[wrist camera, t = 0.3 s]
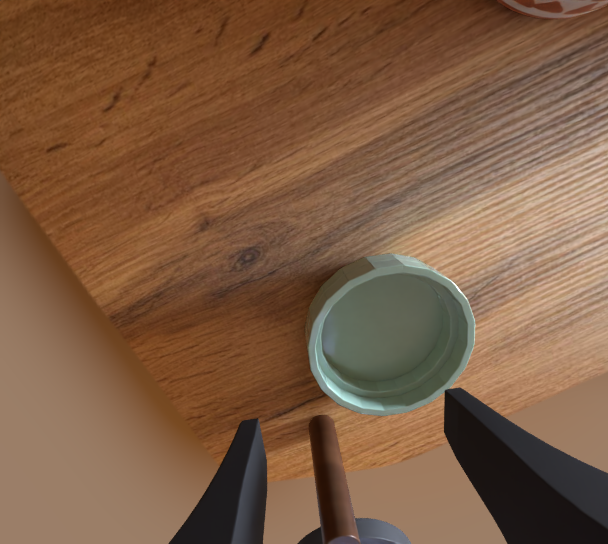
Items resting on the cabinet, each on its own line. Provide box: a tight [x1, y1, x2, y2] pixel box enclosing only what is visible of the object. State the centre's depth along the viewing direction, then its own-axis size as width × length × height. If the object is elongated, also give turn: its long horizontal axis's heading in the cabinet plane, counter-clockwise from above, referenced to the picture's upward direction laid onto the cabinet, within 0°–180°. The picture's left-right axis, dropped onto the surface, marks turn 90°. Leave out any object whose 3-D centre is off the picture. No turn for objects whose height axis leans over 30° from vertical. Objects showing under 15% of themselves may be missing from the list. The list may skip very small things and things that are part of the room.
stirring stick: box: [309, 415, 360, 544], centre depth 23 cm, size 2×2×9 cm
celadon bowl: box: [305, 253, 475, 416], centre depth 23 cm, size 11×11×3 cm
